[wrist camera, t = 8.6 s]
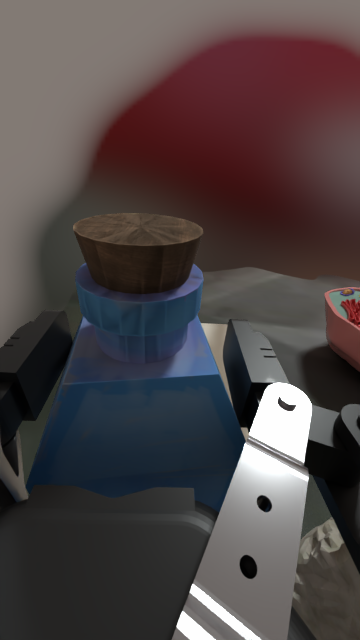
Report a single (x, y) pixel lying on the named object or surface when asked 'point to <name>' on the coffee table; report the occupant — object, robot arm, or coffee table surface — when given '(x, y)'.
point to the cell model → (344, 323)
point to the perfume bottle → (140, 370)
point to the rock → (327, 585)
